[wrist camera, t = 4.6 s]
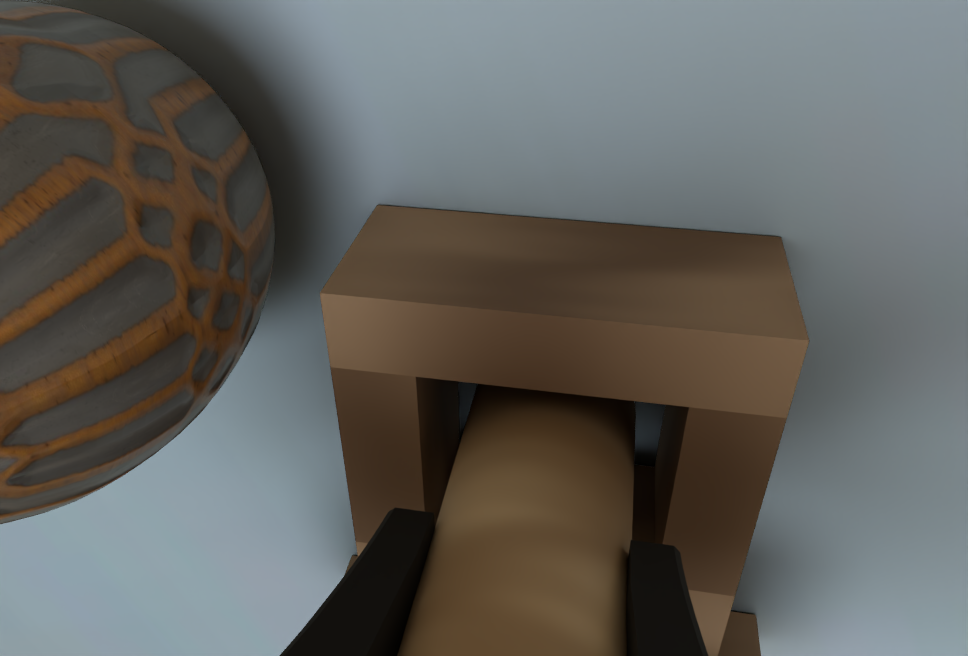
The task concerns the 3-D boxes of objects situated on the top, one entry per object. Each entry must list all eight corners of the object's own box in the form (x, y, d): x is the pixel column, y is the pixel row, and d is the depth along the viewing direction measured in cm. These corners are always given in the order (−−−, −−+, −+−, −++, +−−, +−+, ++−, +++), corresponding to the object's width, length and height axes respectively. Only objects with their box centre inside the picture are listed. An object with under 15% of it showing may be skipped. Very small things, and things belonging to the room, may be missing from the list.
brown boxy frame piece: (875, 244, 13) (1039, 588, 7) (748, 639, 19) (785, 984, 14) (298, 199, 14) (77, 458, 9) (355, 579, 21) (247, 869, 15)
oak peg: (647, 357, 13) (638, 884, 7) (624, 479, 15) (601, 993, 9) (475, 335, 14) (318, 815, 7) (472, 457, 16) (344, 933, 9)
